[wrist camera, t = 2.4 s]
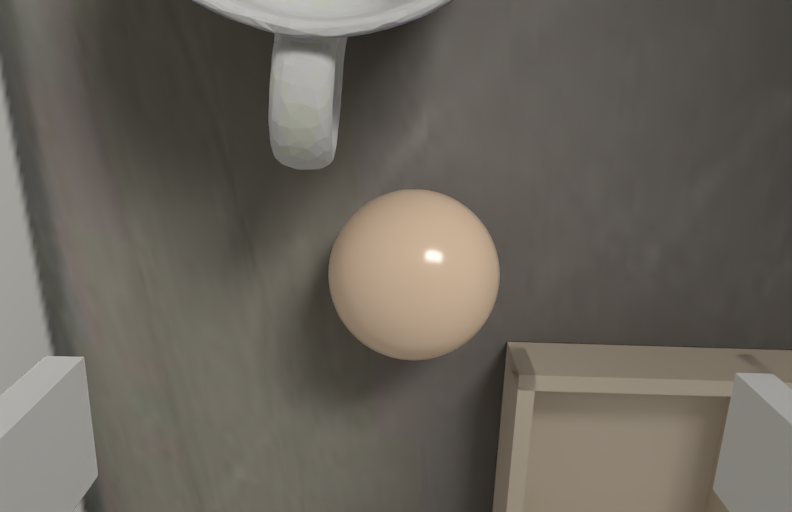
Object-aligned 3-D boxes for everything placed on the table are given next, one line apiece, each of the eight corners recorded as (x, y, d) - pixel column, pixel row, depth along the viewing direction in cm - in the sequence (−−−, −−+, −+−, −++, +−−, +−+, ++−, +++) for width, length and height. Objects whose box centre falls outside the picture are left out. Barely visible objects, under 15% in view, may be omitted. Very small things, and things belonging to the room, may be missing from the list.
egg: (336, 172, 24) (318, 208, 18) (493, 176, 24) (521, 214, 18) (336, 317, 25) (319, 390, 20) (482, 321, 25) (505, 395, 20)
